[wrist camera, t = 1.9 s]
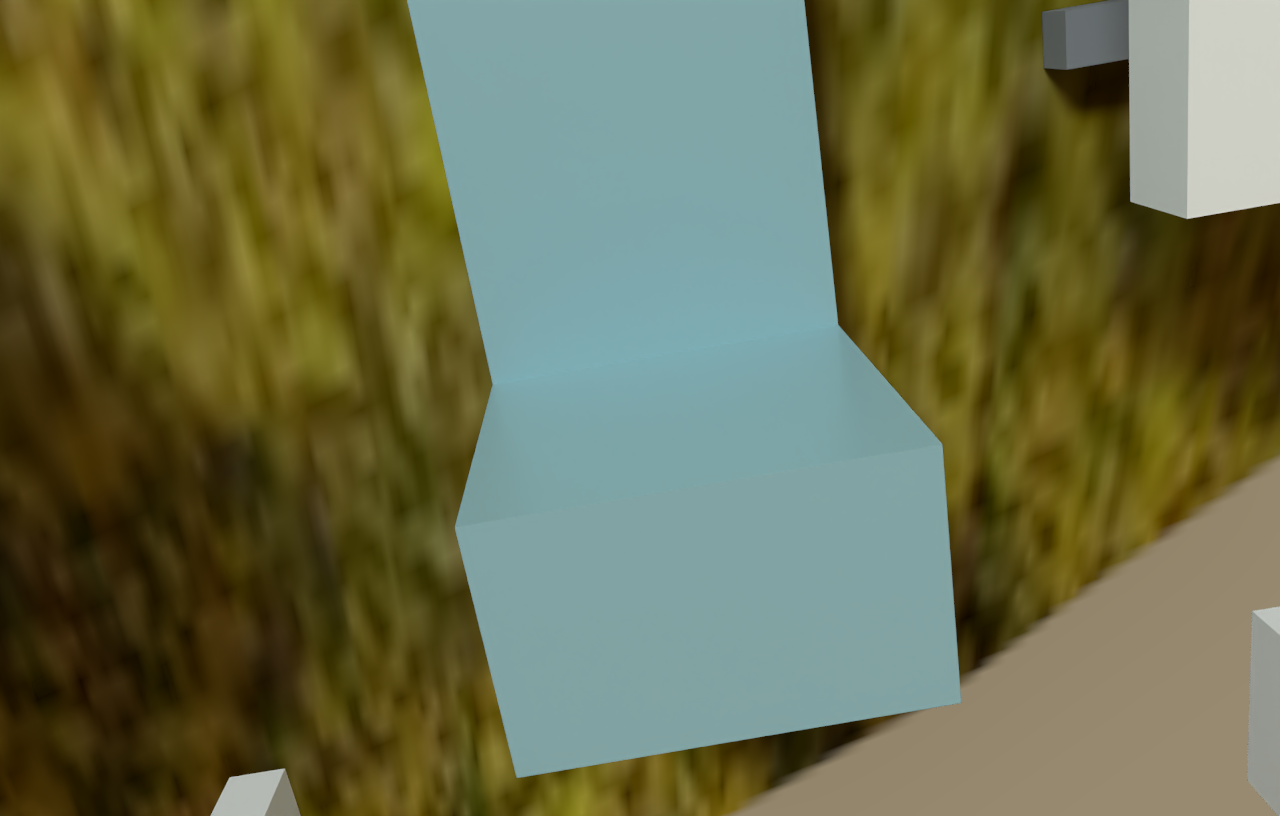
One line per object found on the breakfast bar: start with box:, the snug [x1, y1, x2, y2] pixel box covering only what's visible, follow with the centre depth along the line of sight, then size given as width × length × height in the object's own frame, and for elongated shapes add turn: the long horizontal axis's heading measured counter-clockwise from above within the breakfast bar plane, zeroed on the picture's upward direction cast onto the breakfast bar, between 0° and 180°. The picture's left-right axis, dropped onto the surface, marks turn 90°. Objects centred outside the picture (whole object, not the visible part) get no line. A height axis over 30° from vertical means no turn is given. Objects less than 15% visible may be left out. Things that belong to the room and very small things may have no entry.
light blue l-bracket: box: [407, 0, 961, 778], centre depth 19 cm, size 23×8×9 cm, turn 9°
